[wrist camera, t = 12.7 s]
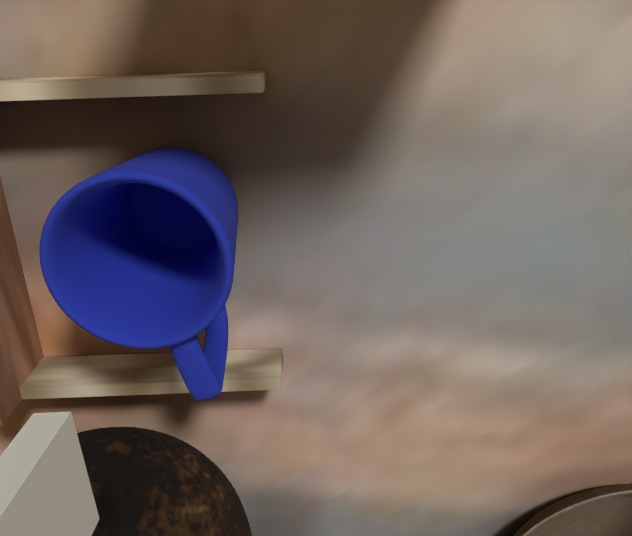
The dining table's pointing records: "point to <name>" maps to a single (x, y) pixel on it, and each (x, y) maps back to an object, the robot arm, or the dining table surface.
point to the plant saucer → (585, 514)
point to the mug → (149, 259)
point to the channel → (13, 300)
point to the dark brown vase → (157, 486)
